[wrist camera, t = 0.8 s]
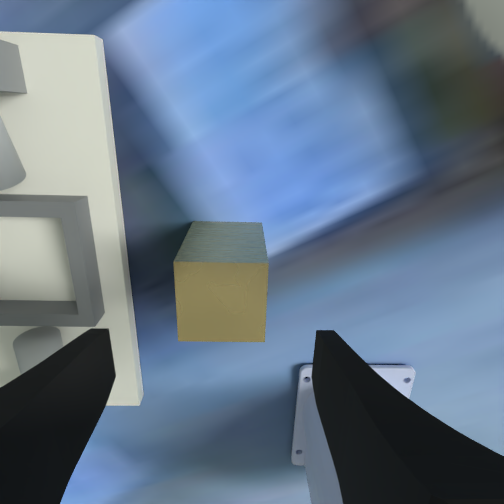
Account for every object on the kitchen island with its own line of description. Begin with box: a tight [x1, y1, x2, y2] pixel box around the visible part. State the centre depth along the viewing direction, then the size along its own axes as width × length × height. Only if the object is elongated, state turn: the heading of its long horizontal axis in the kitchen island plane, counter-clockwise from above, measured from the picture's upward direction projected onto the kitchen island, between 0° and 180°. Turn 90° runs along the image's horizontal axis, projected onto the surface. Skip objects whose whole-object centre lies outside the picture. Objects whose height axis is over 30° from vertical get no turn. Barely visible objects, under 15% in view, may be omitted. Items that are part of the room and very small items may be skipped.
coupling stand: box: [0, 32, 144, 406], centre depth 18 cm, size 22×10×5 cm, turn 178°
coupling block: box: [174, 221, 269, 342], centre depth 18 cm, size 4×4×6 cm
